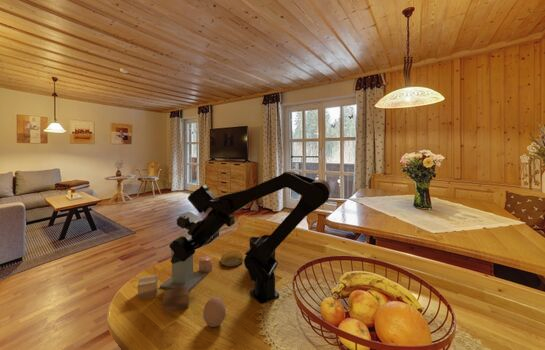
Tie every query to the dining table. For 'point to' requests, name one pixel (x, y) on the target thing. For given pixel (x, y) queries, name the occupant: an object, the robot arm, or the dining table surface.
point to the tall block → (182, 269)
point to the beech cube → (147, 287)
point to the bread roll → (231, 258)
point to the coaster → (191, 284)
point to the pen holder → (254, 239)
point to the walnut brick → (175, 299)
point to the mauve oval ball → (214, 312)
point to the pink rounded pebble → (205, 264)
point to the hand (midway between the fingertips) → (181, 255)
